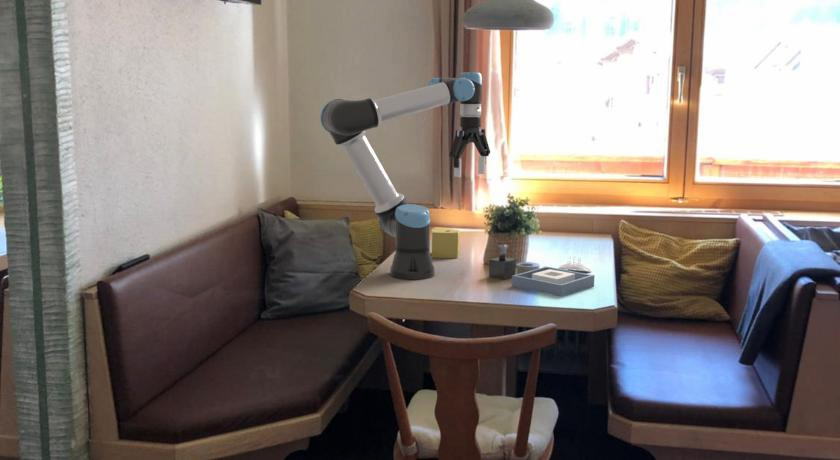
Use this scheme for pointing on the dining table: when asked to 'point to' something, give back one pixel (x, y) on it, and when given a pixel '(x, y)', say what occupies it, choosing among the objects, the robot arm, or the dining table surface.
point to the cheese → (445, 243)
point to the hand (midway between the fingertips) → (469, 175)
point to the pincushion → (574, 266)
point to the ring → (554, 276)
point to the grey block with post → (502, 265)
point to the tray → (563, 289)
